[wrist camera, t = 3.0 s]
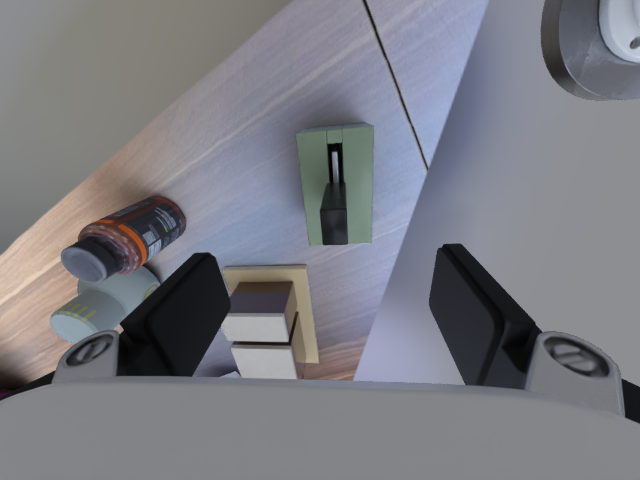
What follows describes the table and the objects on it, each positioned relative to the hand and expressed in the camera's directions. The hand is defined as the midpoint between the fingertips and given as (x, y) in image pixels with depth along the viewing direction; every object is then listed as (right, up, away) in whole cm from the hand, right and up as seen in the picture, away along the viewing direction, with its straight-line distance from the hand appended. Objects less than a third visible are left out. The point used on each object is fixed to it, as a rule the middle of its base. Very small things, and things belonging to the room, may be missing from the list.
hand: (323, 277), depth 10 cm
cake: (-7, -11, +28) cm, 31 cm away
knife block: (+2, +9, +16) cm, 19 cm away
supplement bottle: (-20, +5, +21) cm, 30 cm away
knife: (+2, +8, +15) cm, 18 cm away
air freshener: (-29, -4, +27) cm, 39 cm away
